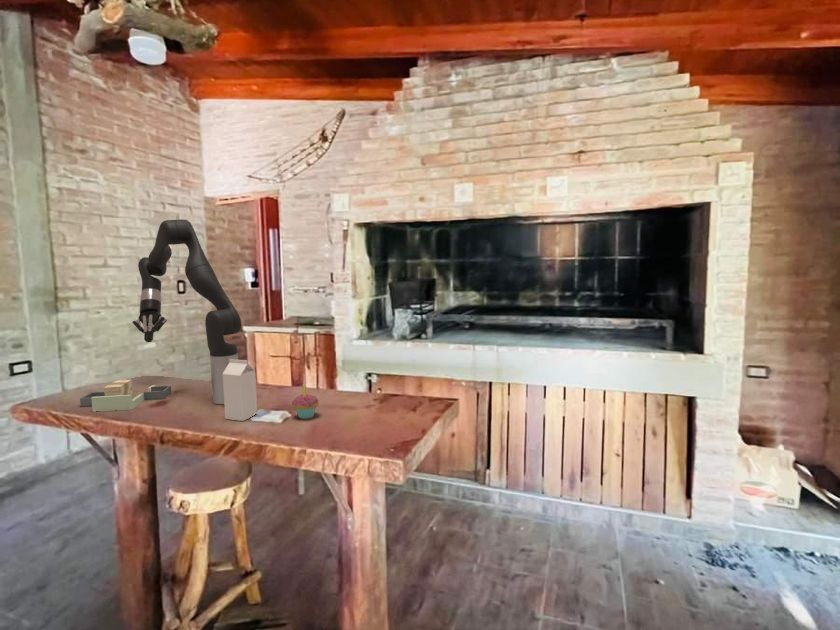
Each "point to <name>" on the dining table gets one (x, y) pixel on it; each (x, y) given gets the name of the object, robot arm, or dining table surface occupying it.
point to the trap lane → (123, 399)
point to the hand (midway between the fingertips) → (148, 341)
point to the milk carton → (239, 390)
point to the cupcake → (305, 405)
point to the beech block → (119, 388)
